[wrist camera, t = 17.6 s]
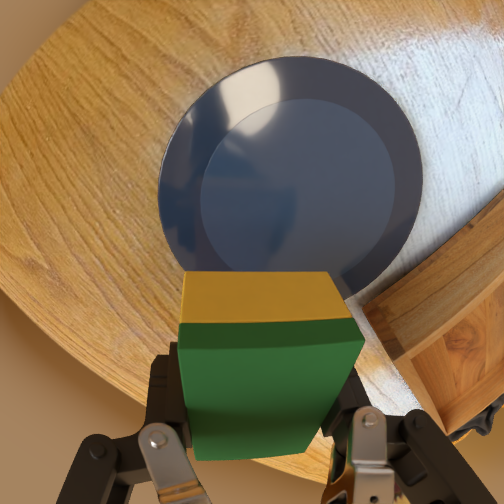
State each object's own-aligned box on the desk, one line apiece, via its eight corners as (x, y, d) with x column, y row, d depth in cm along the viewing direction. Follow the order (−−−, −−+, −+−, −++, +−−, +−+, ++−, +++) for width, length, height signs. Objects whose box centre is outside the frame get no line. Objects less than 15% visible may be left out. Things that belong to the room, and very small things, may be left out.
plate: (165, 48, 11) (161, 44, 10) (431, 93, 13) (443, 95, 12) (167, 305, 17) (165, 316, 17) (378, 300, 20) (385, 309, 19)
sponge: (184, 269, 10) (177, 349, 7) (327, 270, 11) (366, 340, 8) (194, 400, 14) (195, 461, 11) (290, 395, 15) (304, 452, 12)
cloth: (499, 404, 47) (510, 421, 42) (441, 445, 49) (450, 464, 44) (523, 362, 36) (538, 383, 31) (451, 417, 38) (465, 442, 33)
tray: (506, 350, 30) (525, 376, 25) (427, 412, 33) (442, 441, 28) (503, 177, 16) (557, 208, 11) (355, 299, 19) (391, 362, 14)
